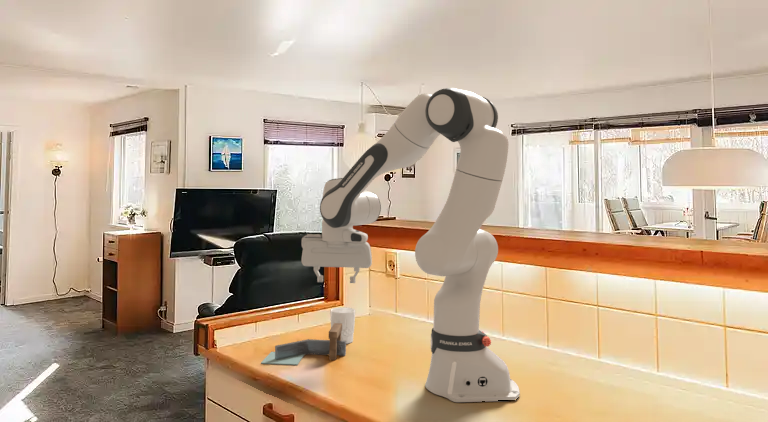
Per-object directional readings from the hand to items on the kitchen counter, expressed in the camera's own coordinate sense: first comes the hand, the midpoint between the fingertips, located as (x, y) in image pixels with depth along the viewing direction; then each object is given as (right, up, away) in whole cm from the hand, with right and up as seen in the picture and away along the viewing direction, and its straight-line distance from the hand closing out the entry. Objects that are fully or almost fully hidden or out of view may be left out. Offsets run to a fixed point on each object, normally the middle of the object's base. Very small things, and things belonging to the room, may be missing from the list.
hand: (336, 282), depth 152 cm
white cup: (+1, -21, +15) cm, 25 cm away
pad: (-14, -21, -4) cm, 26 cm away
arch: (0, -21, +1) cm, 21 cm away
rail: (-7, -21, -2) cm, 22 cm away
